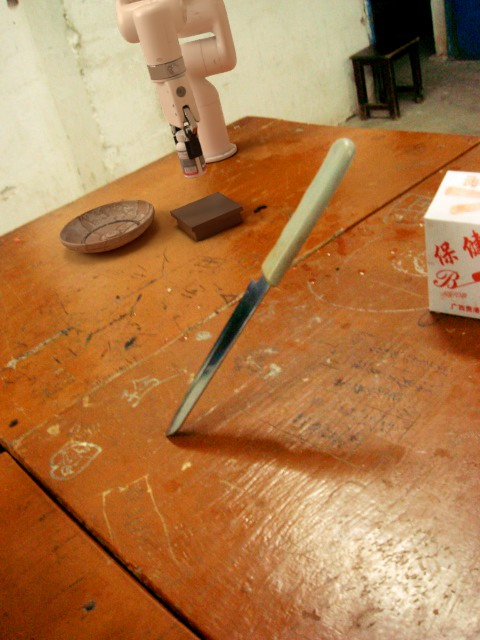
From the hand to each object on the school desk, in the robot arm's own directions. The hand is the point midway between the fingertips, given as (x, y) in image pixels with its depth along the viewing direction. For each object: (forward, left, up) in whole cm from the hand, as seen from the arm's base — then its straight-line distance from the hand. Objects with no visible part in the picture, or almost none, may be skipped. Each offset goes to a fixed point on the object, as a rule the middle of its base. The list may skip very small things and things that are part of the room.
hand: (190, 153), depth 140 cm
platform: (0, 0, -17) cm, 17 cm away
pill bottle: (0, 0, -5) cm, 5 cm away
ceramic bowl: (-14, -20, -17) cm, 30 cm away
